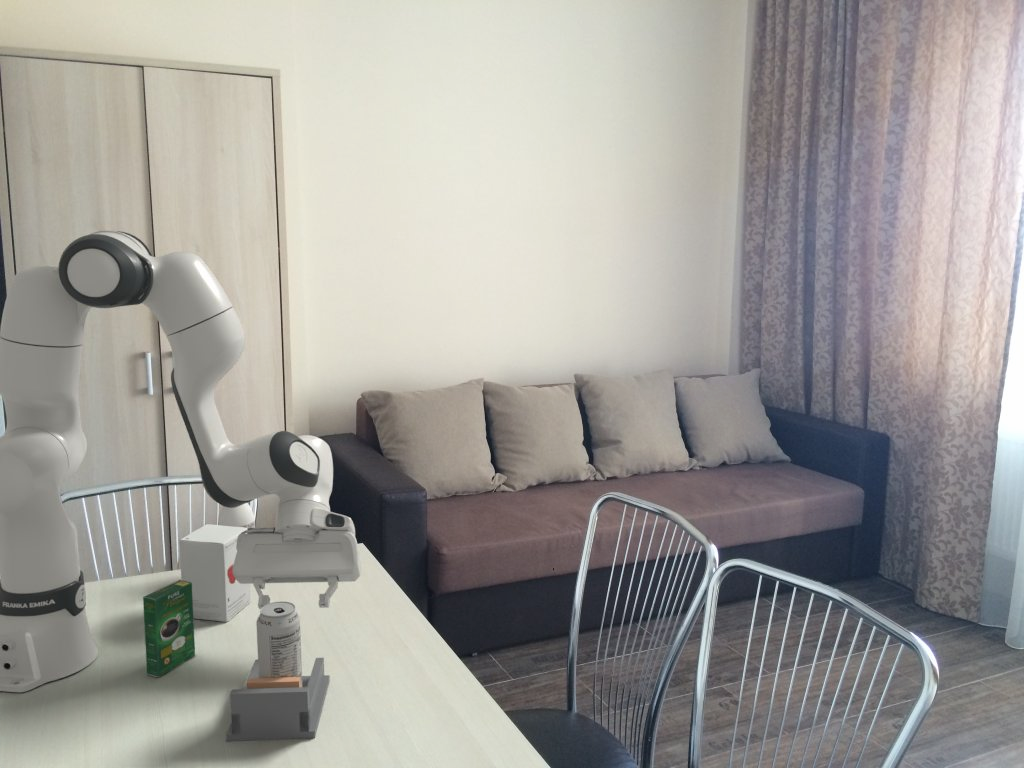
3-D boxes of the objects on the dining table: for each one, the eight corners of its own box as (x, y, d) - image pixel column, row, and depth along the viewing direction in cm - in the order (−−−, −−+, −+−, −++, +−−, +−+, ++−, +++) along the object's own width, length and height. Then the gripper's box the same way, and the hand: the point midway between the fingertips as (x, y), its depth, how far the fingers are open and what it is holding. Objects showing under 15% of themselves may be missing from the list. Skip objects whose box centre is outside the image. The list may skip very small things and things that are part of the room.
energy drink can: (292, 689, 127) (289, 596, 124) (309, 706, 122) (306, 610, 119) (253, 702, 123) (249, 606, 120) (269, 721, 118) (265, 622, 116)
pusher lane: (226, 740, 115) (223, 694, 114) (251, 683, 130) (249, 641, 129) (314, 737, 116) (313, 691, 115) (329, 681, 131) (328, 639, 130)
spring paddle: (248, 720, 118) (246, 682, 117) (250, 715, 119) (248, 678, 118) (300, 718, 119) (299, 681, 118) (301, 713, 120) (300, 676, 119)
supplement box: (227, 623, 150) (223, 543, 147) (182, 618, 152) (177, 539, 149) (252, 602, 159) (249, 526, 156) (209, 597, 160) (205, 522, 158)
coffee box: (184, 651, 140) (179, 577, 137) (197, 655, 139) (193, 580, 136) (145, 674, 132) (140, 596, 130) (159, 678, 131) (154, 600, 129)
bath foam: (215, 574, 171) (210, 480, 168) (247, 565, 176) (243, 473, 172) (230, 585, 166) (225, 488, 163) (262, 575, 171) (258, 481, 167)
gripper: (235, 520, 138) (222, 601, 130) (360, 518, 139) (355, 598, 131) (242, 536, 143) (231, 615, 135) (364, 534, 144) (359, 612, 136)
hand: (293, 607), depth 133 cm, fingers open, 8 cm apart
